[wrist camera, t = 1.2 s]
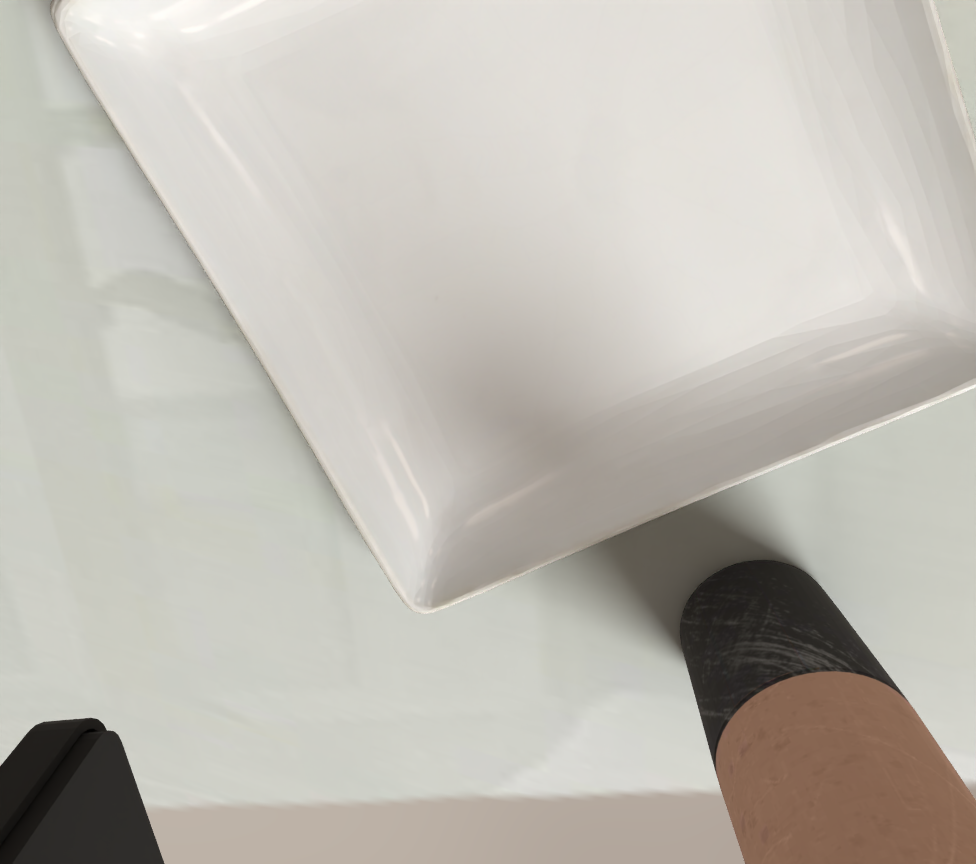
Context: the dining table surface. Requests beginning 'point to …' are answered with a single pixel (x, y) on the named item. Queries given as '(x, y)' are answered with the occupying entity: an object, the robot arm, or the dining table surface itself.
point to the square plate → (558, 243)
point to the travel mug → (815, 731)
